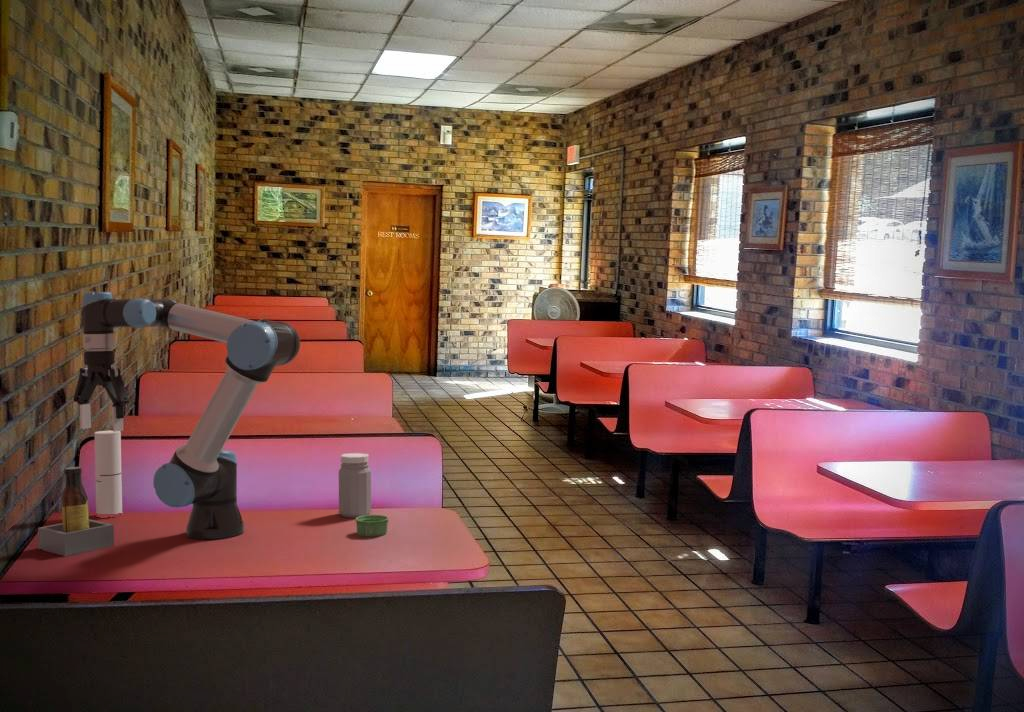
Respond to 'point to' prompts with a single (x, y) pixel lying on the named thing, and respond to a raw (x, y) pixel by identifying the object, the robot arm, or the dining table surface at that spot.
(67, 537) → the grey open box
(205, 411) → the robot arm
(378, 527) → the ramekin
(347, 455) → the jar
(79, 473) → the sauce bottle
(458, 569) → the dining table surface
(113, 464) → the cylindrical container
